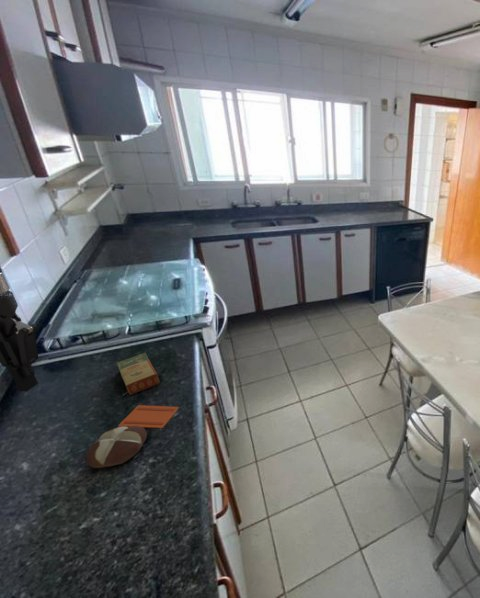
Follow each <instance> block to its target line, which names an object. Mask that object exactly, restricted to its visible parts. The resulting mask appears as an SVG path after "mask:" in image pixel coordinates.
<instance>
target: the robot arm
mask: <svg viewBox="0 0 480 598" xmlns="http://www.w3.org/2000/svg"><path fill="white" fill-rule="evenodd" d="M10 289H11V287H10V284H9V283H8V280H7V278H6V276H5V273H4V271H3V269H2V267H1V265H0V365H1V366H2V367H4V368H5V369H6V370H7V372H8V374H9V376H10V377H11V378H12V379H13V381H14V383H15V384H16V387H17V389H18V390H19V392H28V391H30V390H31V389H33V388H34V387H36V386H37V385H39V382H38V380H37V378H36V376H35V371H34V369H33V366H32V364H33V363H34V362H36V361H38V360H39V352H38V345H37V338H36V331H37V329H38V326H37V325H36V324H35V323H30V324H28V323H25V322H23V321H22V318H21V317H20V316H19V315H18V314H17V312H16V311H17V309H18V307H19V303H18V302H17V299H16V297H15V295H14V293H13V291H11V290H10Z"/></svg>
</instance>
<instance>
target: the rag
mask: <svg viewBox="0 0 480 598" xmlns="http://www.w3.org/2000/svg"><path fill="white" fill-rule="evenodd" d="M178 410H179V406H167V405H165V406H163V405H144V404H143V405H142V404H141V405H139V404H138V405H137V406H136V407H135V408H133V410H132V411H131V412H130V413H129V414H128V415H127V416H126V417H125V418H124V419H123V420H122V421H121V422H120V423H119V424H118V425H117V427H123V426H125V427H128V428H129V427H131V426H140V427H143V428H144V429H164V427H165V426H166V425H167V424H168V423H169V421H170V420H171V419H172V417H173V416H174V415H175V414H176V412H177V411H178Z"/></svg>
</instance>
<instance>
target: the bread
mask: <svg viewBox="0 0 480 598" xmlns="http://www.w3.org/2000/svg"><path fill="white" fill-rule="evenodd" d="M147 436H148V433H147V431H146V428H143V427H140V426H131V427H125V426H123V427H118V426H117V427H114V428H111V429H109V430H107V431H105V432H103V433H101V435H100V436H99V438H98V439H97V441H95V442H93V443H92V444H91V445H90V446H89V448H88V450H87V452H86V454H85V461H86V464H87V465H88V466H89V467H91V468H93V469H100V468H108V467H114V466H118V465H123V464H124V463H126V462H127V461H129V460H131V459H132V458H133V457H134V456H136V455H137V454H138V453H139V451H140V450H141V449H142V446H143V444H144V443H145V441H146V439H147Z"/></svg>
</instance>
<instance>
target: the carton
mask: <svg viewBox="0 0 480 598" xmlns="http://www.w3.org/2000/svg"><path fill="white" fill-rule="evenodd" d="M116 366H117V368H118V372H119V373H120V377H121V378H122V381H123V383H124V385H125V388H126V390H127V392H128V394H129V396H131V395H134V394H137V393H139V392H142V391H145V390H147V389H149V388H152V387H154V386H157V385H159V384H160V383H161V381H160V379H159V375H158V372H157V371H156V370H155V367H154V365H152V363H151V360H150V359H149V357H148V355H147V353H146V352H143V353H140V354H137V355H135V356H132V357H129V358H125V359H123V360H120V361H117V362H116Z"/></svg>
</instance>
